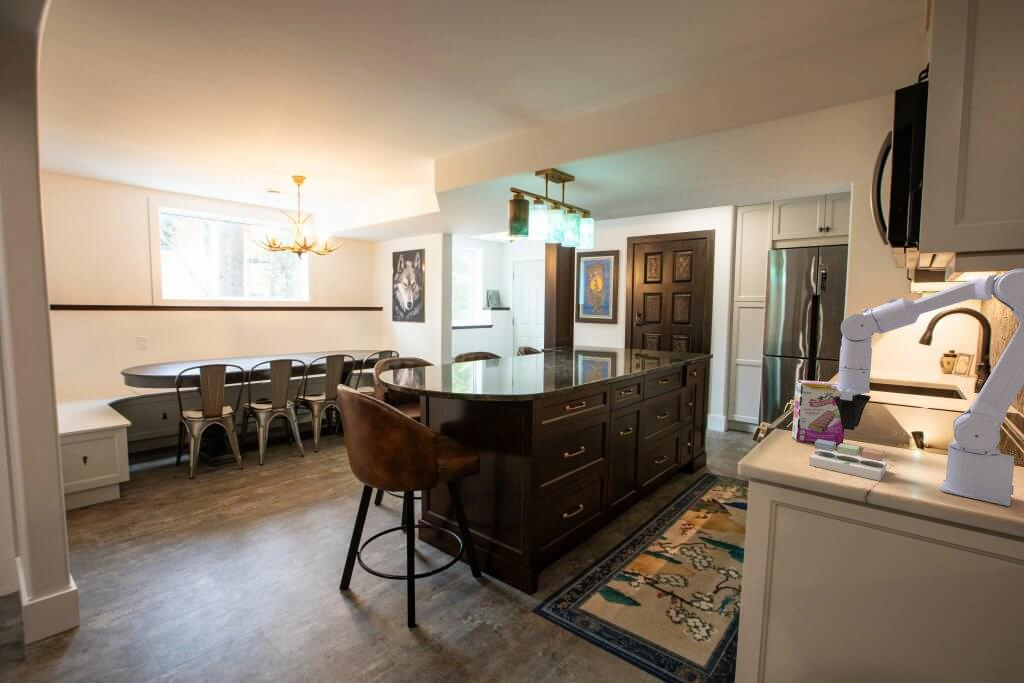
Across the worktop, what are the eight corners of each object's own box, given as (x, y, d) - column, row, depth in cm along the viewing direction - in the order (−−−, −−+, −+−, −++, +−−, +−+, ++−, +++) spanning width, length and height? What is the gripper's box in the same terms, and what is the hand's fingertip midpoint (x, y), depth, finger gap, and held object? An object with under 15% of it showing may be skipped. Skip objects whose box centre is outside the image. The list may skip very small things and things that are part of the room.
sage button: (859, 453, 107) (859, 446, 107) (856, 456, 104) (856, 449, 104) (840, 449, 109) (841, 443, 109) (837, 452, 107) (837, 446, 107)
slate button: (835, 448, 110) (835, 442, 110) (832, 451, 107) (832, 445, 107) (818, 445, 112) (818, 439, 112) (814, 448, 110) (814, 441, 110)
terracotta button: (884, 457, 104) (884, 451, 103) (881, 461, 101) (882, 454, 101) (864, 454, 106) (865, 447, 106) (861, 457, 104) (862, 450, 103)
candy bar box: (796, 442, 127) (800, 382, 125) (791, 437, 131) (795, 379, 130) (844, 446, 124) (849, 385, 122) (837, 441, 128) (841, 382, 127)
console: (886, 470, 106) (886, 461, 105) (879, 480, 99) (880, 470, 99) (818, 456, 115) (819, 447, 115) (809, 465, 108) (809, 455, 108)
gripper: (840, 363, 113) (836, 418, 114) (825, 368, 103) (821, 429, 104) (877, 366, 108) (872, 424, 109) (865, 372, 98) (860, 436, 99)
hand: (850, 427), depth 106 cm, fingers open, 4 cm apart
